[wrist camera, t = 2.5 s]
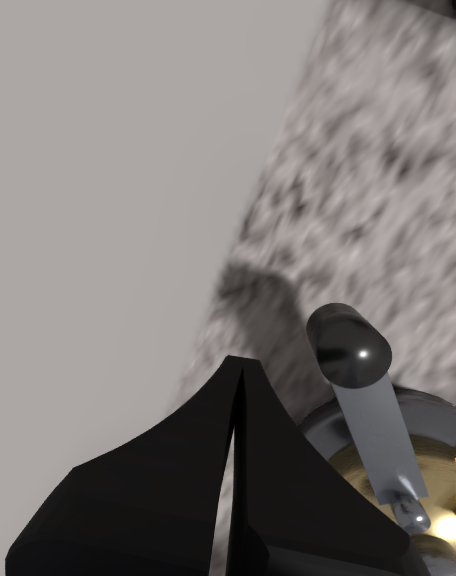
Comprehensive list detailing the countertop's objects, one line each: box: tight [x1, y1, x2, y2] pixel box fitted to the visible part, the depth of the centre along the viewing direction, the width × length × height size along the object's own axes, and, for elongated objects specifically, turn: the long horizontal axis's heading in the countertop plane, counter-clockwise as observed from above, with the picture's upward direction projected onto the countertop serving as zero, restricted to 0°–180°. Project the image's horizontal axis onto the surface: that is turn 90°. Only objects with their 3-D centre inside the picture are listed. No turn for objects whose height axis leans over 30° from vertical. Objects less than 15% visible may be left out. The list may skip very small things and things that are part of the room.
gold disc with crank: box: [306, 303, 456, 576], centre depth 12 cm, size 17×9×4 cm, turn 24°
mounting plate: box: [298, 388, 456, 461], centre depth 15 cm, size 12×12×2 cm
